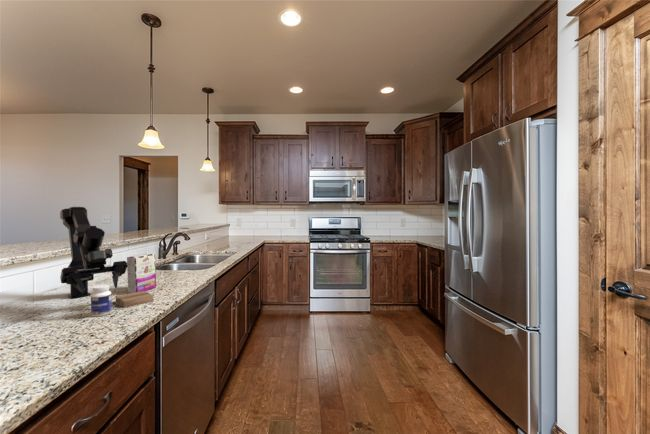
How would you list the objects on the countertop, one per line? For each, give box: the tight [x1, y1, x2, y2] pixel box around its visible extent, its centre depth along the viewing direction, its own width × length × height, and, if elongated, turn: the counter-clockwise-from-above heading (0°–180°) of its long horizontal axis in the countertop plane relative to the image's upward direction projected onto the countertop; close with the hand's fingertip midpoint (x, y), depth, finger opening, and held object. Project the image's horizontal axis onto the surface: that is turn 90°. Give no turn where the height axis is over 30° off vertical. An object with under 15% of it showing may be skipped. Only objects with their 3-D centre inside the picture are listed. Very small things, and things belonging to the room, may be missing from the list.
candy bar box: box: [126, 252, 157, 294], centre depth 129 cm, size 11×5×16 cm, turn 168°
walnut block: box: [115, 291, 154, 309], centre depth 113 cm, size 10×10×2 cm
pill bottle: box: [90, 284, 113, 317], centre depth 100 cm, size 6×6×10 cm
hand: (100, 289), depth 100 cm, fingers open, 9 cm apart
